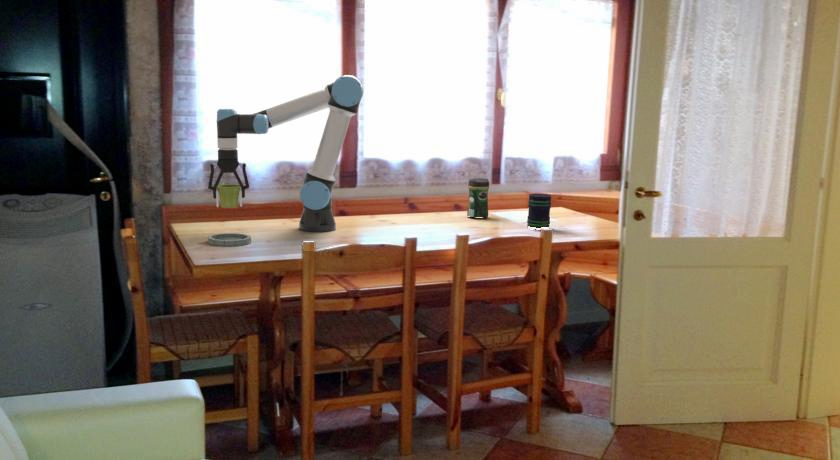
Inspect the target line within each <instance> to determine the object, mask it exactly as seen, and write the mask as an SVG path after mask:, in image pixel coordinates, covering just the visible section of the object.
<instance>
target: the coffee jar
mask: <svg viewBox="0 0 840 460" xmlns="http://www.w3.org/2000/svg"><path fill="white" fill-rule="evenodd" d="M467 188H468V190H469V193H468V195H469V196H468V206H467V212H466V213H467V214H466V215H467V217H468V216H470V217H487V218H488V217H489V203H488V202H489V199H488V198H489V197H488V196H489V194H488V193H489V189H490V181H489V179H487V178H484V177H483V178H481V177H480V178H479V177H478V178H477V177H476V178H470V179H469V180H468V186H467Z"/></svg>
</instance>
